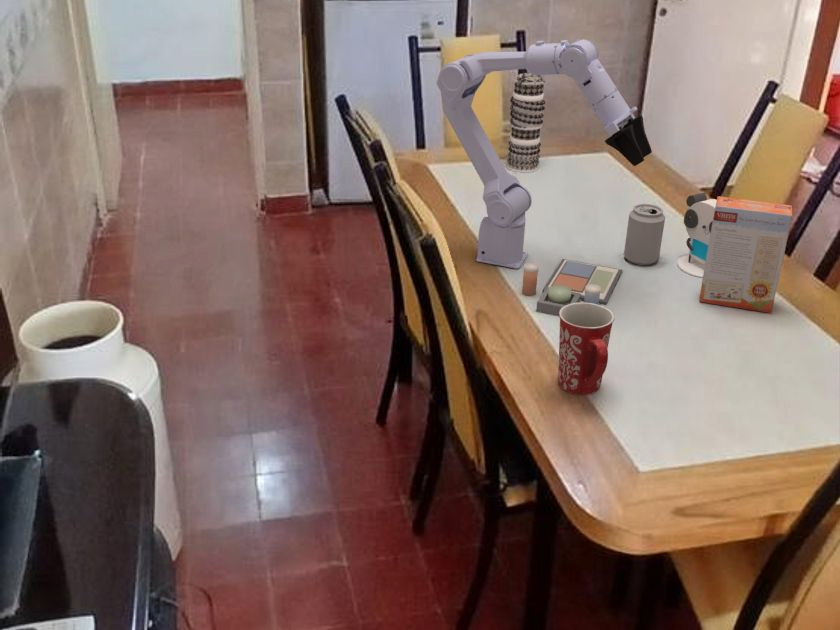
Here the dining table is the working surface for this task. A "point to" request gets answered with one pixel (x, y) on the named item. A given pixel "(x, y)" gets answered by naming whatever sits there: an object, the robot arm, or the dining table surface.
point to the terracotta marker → (530, 278)
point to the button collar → (554, 307)
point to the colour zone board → (585, 278)
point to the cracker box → (745, 253)
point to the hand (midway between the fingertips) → (643, 159)
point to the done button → (559, 294)
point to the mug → (583, 346)
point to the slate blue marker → (592, 294)
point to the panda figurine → (697, 233)
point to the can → (644, 234)
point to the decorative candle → (526, 123)
